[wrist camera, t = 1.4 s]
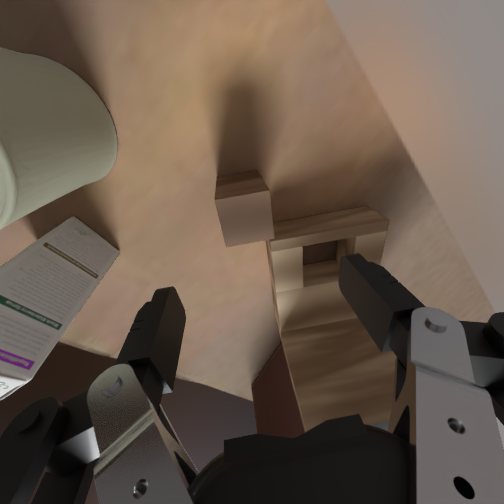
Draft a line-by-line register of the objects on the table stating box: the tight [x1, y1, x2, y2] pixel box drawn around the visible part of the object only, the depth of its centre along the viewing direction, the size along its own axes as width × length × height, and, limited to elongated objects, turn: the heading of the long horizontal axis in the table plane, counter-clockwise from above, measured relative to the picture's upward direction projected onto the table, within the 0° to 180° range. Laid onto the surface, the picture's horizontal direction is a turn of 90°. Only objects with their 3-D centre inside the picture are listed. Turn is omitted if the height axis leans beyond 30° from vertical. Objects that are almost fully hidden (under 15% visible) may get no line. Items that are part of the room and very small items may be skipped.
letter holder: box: [252, 342, 305, 438], centre depth 34 cm, size 10×20×14 cm, turn 159°
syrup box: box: [0, 216, 120, 400], centre depth 18 cm, size 6×6×14 cm
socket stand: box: [266, 206, 397, 432], centre depth 22 cm, size 18×14×18 cm
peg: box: [215, 170, 274, 247], centre depth 20 cm, size 4×4×7 cm
